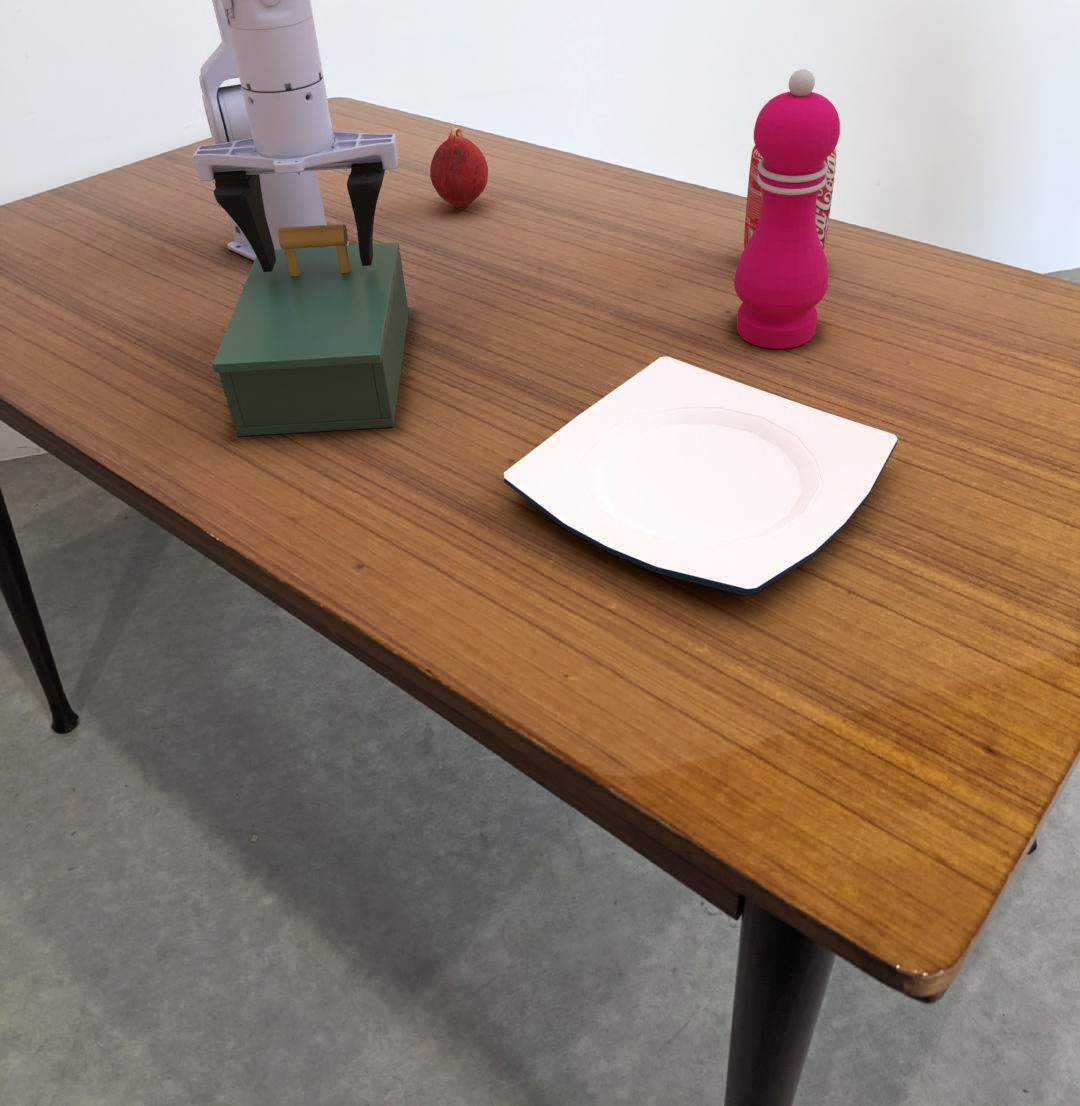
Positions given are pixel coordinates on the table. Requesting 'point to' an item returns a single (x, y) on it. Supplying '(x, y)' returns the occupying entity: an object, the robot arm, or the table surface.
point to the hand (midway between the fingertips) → (318, 263)
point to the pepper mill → (787, 219)
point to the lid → (311, 305)
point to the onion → (458, 170)
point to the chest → (323, 388)
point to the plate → (704, 477)
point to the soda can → (756, 199)
